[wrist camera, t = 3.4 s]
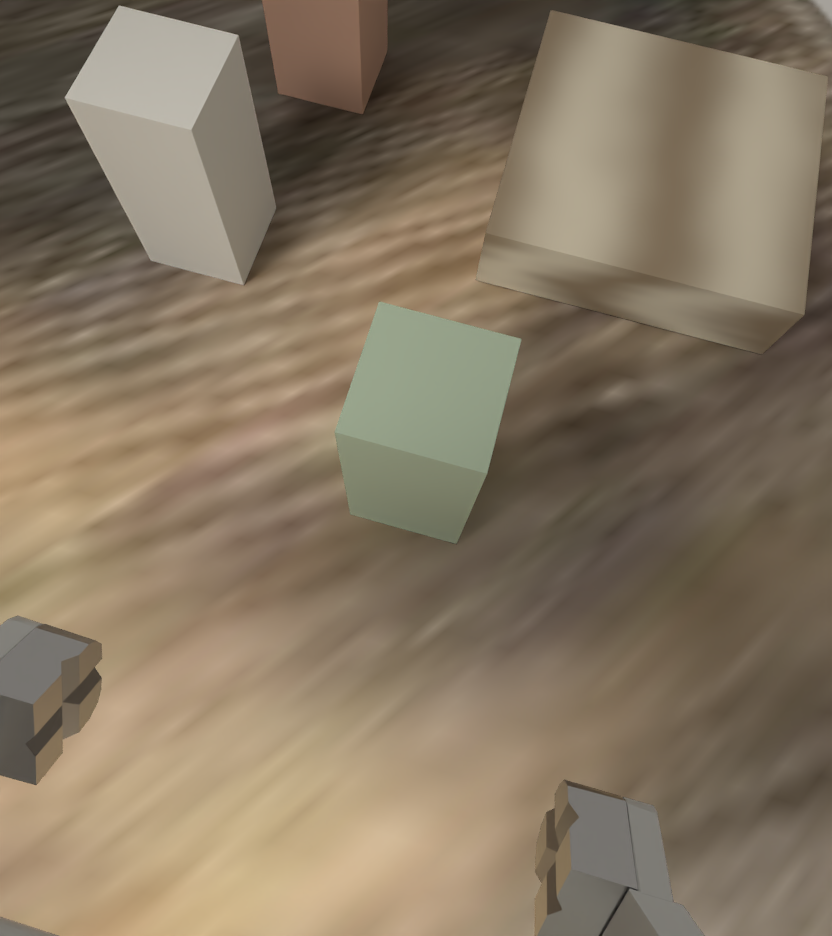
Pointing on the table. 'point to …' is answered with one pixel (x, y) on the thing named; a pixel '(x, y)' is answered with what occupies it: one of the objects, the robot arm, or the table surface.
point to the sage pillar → (423, 420)
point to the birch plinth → (661, 184)
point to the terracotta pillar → (327, 49)
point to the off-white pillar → (178, 140)
